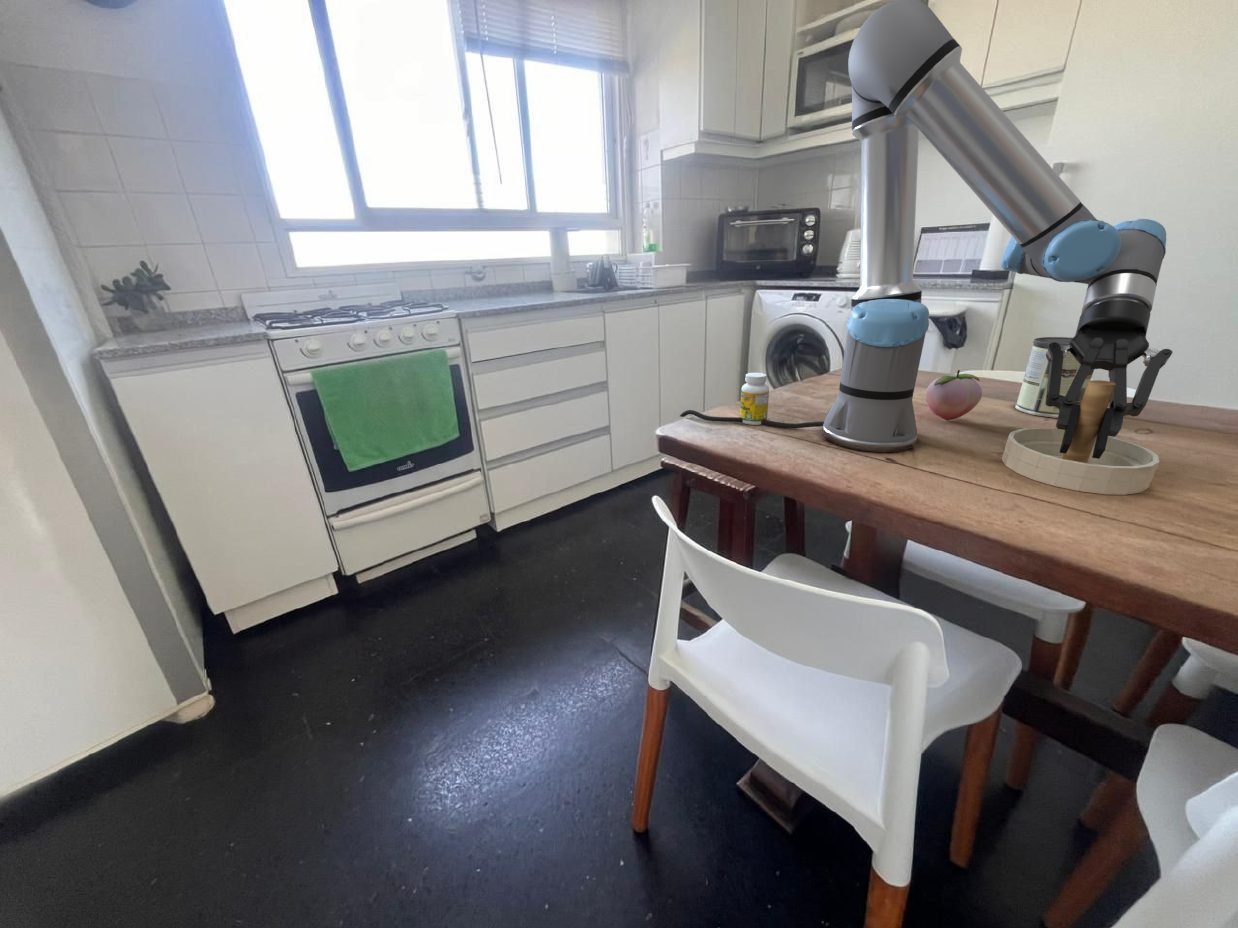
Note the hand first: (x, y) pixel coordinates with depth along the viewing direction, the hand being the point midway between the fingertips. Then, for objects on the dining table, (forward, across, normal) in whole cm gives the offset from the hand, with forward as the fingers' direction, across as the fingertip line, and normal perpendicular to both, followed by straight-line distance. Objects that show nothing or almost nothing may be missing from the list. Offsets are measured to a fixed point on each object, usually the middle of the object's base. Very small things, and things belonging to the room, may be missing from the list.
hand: (1081, 451), depth 68 cm
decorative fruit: (-13, +18, -20) cm, 30 cm away
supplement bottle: (+2, +49, -4) cm, 49 cm away
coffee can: (-25, +3, -32) cm, 41 cm away
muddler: (0, 0, -6) cm, 6 cm away
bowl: (+1, 0, -6) cm, 6 cm away
